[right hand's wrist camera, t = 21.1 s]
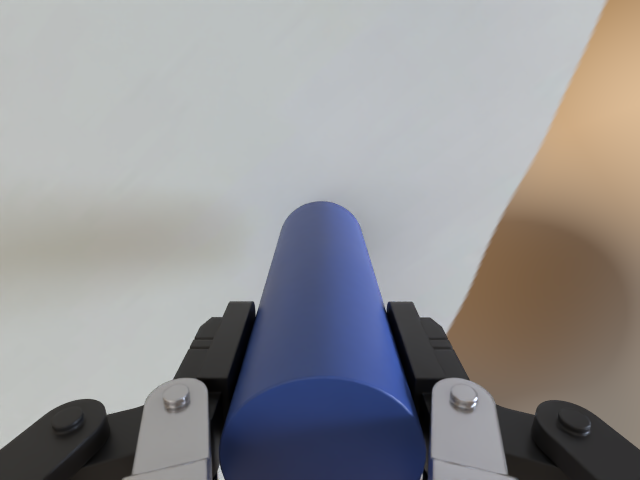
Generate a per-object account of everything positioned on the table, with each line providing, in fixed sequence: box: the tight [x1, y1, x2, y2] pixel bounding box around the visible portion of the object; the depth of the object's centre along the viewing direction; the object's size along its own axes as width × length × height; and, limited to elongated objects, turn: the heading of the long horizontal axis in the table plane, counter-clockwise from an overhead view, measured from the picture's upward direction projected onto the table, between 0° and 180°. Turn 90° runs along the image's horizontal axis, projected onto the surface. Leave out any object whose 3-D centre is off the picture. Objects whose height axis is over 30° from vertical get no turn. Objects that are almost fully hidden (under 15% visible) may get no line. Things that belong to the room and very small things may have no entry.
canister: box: [219, 201, 426, 480], centre depth 14 cm, size 4×4×12 cm
